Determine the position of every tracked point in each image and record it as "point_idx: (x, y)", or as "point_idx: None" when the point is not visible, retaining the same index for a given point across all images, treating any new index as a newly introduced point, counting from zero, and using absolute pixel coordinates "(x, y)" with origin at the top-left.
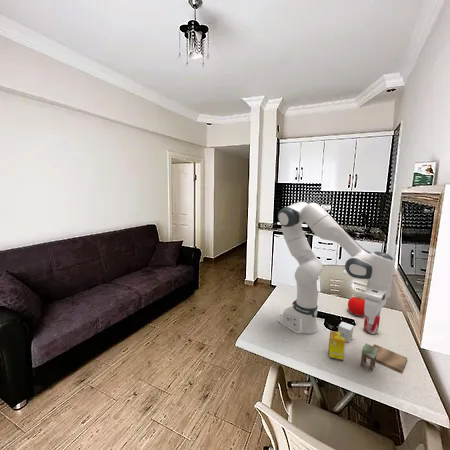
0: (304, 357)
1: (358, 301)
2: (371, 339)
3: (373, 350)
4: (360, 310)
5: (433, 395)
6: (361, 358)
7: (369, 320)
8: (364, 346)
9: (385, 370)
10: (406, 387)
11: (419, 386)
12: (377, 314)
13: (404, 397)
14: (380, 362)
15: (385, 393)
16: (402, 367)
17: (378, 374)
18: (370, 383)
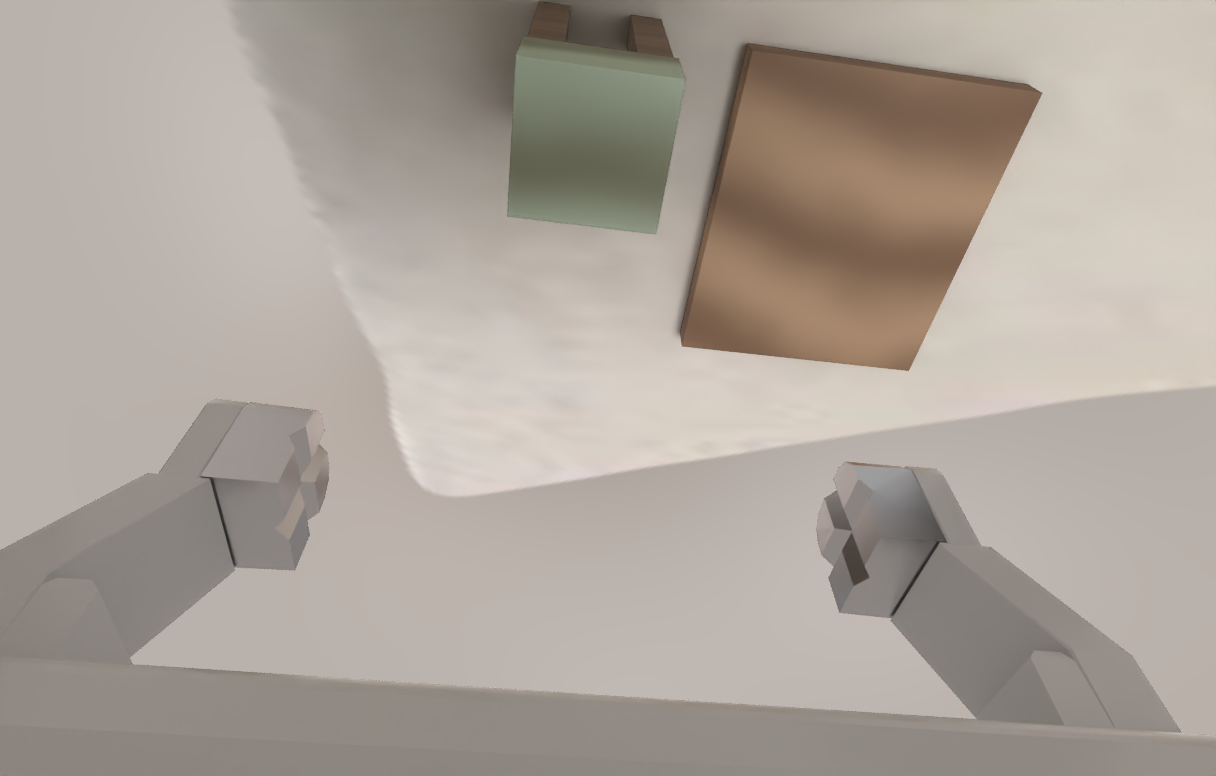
0: None
1: None
2: (1181, 39)
3: (565, 194)
4: None
5: (566, 478)
6: (531, 24)
7: (180, 468)
8: (581, 76)
9: None
10: (524, 361)
11: (600, 422)
12: (839, 534)
13: (401, 354)
14: (718, 183)
15: (327, 249)
16: (735, 345)
17: None
18: (344, 134)
